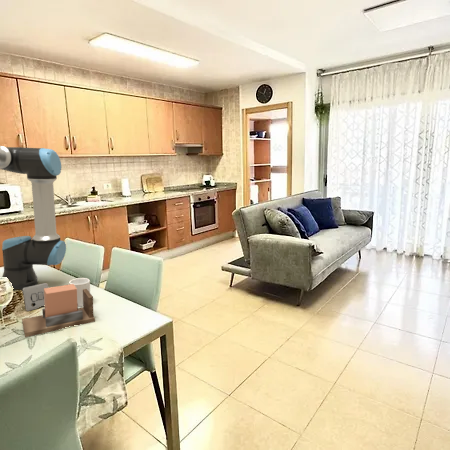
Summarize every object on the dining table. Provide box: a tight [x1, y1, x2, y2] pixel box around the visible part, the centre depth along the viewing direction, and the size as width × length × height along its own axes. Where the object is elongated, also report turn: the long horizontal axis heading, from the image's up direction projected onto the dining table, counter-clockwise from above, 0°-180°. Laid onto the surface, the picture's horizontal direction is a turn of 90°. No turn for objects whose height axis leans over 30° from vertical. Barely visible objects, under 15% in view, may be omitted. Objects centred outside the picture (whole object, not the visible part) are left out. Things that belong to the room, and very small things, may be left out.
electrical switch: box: [21, 282, 49, 312], centre depth 132 cm, size 9×5×9 cm, turn 141°
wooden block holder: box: [21, 289, 96, 338], centre depth 119 cm, size 22×12×10 cm, turn 126°
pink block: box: [44, 284, 78, 317], centre depth 119 cm, size 10×6×11 cm, turn 126°
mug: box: [68, 277, 91, 308], centre depth 139 cm, size 8×12×10 cm
